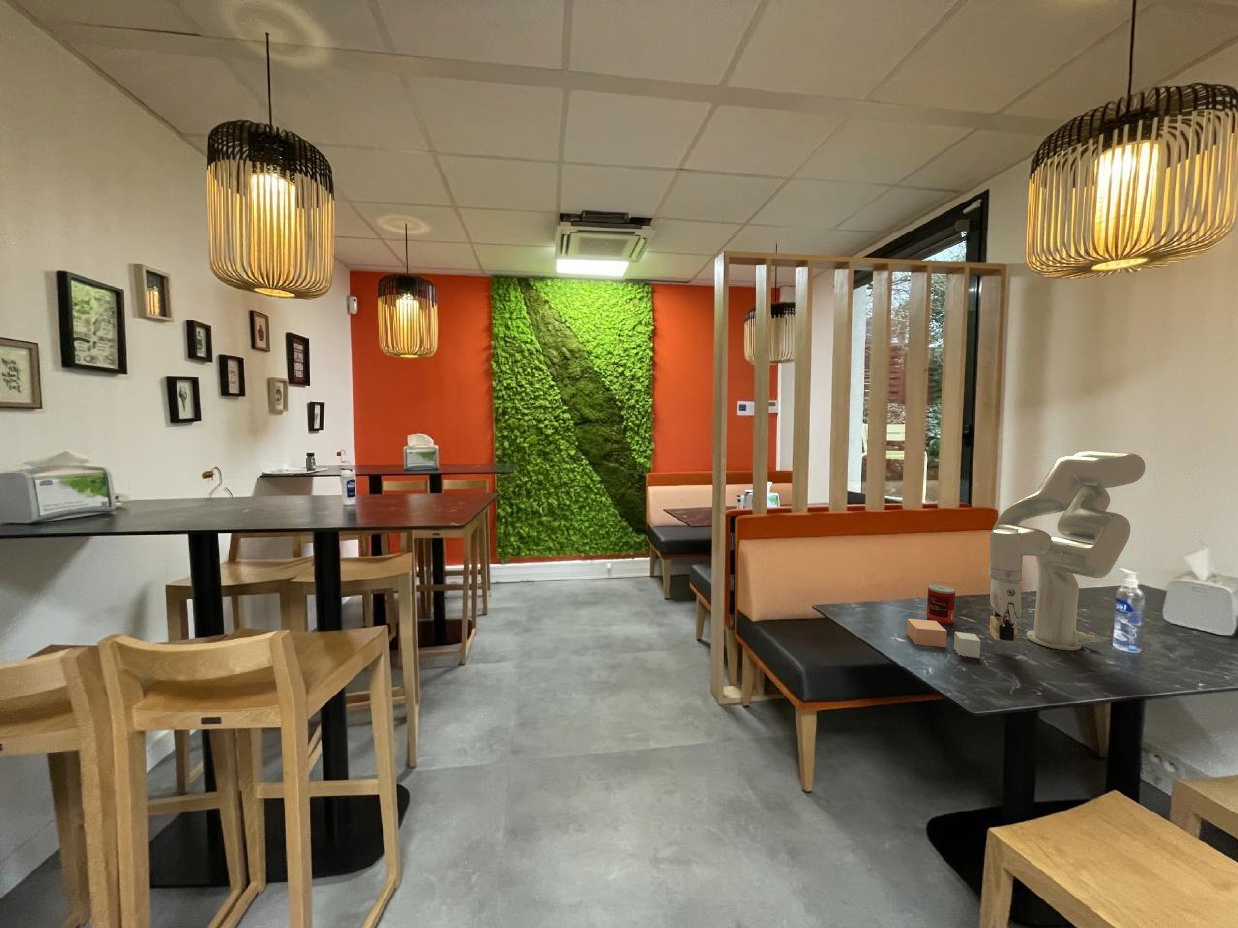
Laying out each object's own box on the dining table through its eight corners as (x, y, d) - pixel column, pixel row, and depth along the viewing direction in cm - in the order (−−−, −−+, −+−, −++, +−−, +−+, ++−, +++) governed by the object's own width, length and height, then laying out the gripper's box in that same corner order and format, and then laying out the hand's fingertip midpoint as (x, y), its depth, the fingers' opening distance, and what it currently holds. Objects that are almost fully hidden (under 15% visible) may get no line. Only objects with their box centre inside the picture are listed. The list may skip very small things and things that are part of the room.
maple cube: (1009, 634, 152) (1010, 617, 152) (1016, 641, 147) (1017, 624, 147) (989, 632, 154) (990, 615, 153) (995, 639, 149) (996, 622, 148)
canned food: (945, 616, 178) (947, 584, 177) (958, 625, 170) (960, 592, 169) (921, 615, 179) (923, 583, 178) (933, 624, 171) (935, 591, 170)
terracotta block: (935, 636, 161) (936, 620, 161) (945, 647, 153) (946, 631, 153) (906, 634, 163) (907, 618, 163) (915, 644, 155) (916, 628, 155)
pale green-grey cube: (973, 650, 151) (974, 634, 151) (979, 658, 146) (980, 640, 146) (953, 648, 153) (954, 631, 152) (958, 655, 148) (959, 638, 148)
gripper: (1033, 584, 139) (1030, 650, 141) (1009, 566, 155) (1007, 625, 157) (1000, 582, 142) (997, 647, 144) (980, 564, 158) (978, 623, 160)
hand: (1002, 635), depth 150 cm, fingers closed on maple cube, 5 cm apart
